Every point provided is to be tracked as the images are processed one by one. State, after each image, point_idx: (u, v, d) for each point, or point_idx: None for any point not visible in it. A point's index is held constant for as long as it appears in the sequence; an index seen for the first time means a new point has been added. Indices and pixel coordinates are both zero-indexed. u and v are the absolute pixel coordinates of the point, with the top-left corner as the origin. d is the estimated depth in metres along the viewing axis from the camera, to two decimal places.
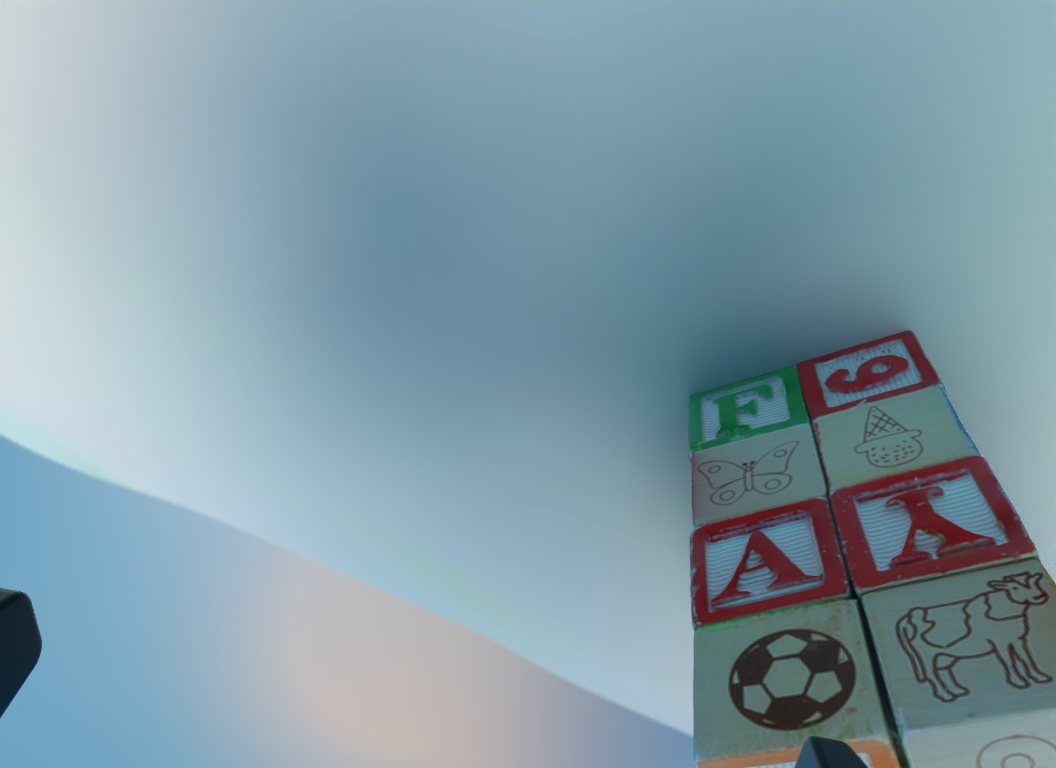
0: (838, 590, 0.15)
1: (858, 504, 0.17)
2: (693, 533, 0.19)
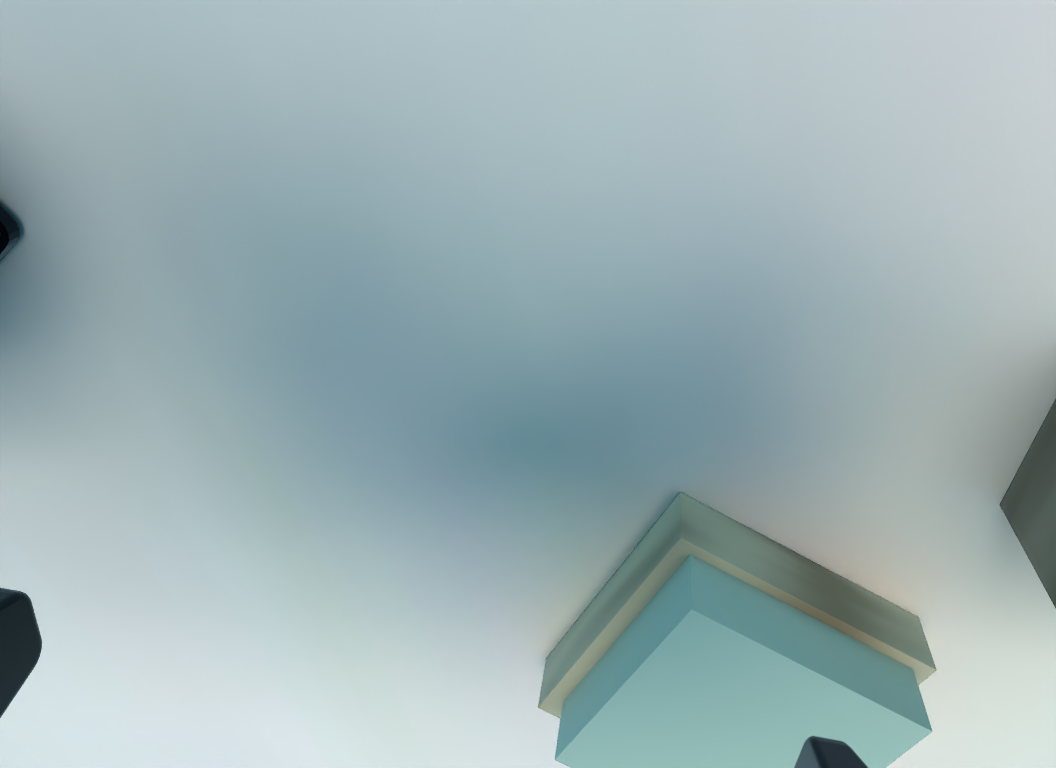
0: None
1: None
2: None
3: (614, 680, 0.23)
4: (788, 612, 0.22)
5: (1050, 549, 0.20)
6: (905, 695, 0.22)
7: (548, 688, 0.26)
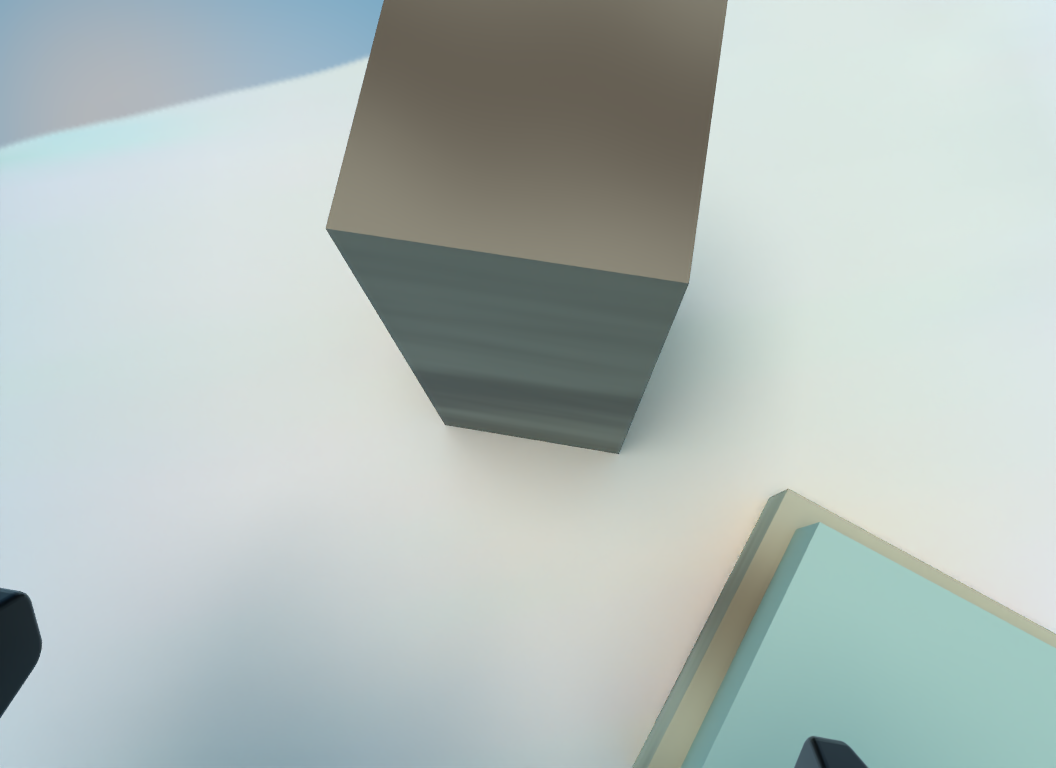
0: None
1: None
2: None
3: None
4: (727, 677, 0.20)
5: (596, 430, 0.21)
6: (799, 546, 0.20)
7: None
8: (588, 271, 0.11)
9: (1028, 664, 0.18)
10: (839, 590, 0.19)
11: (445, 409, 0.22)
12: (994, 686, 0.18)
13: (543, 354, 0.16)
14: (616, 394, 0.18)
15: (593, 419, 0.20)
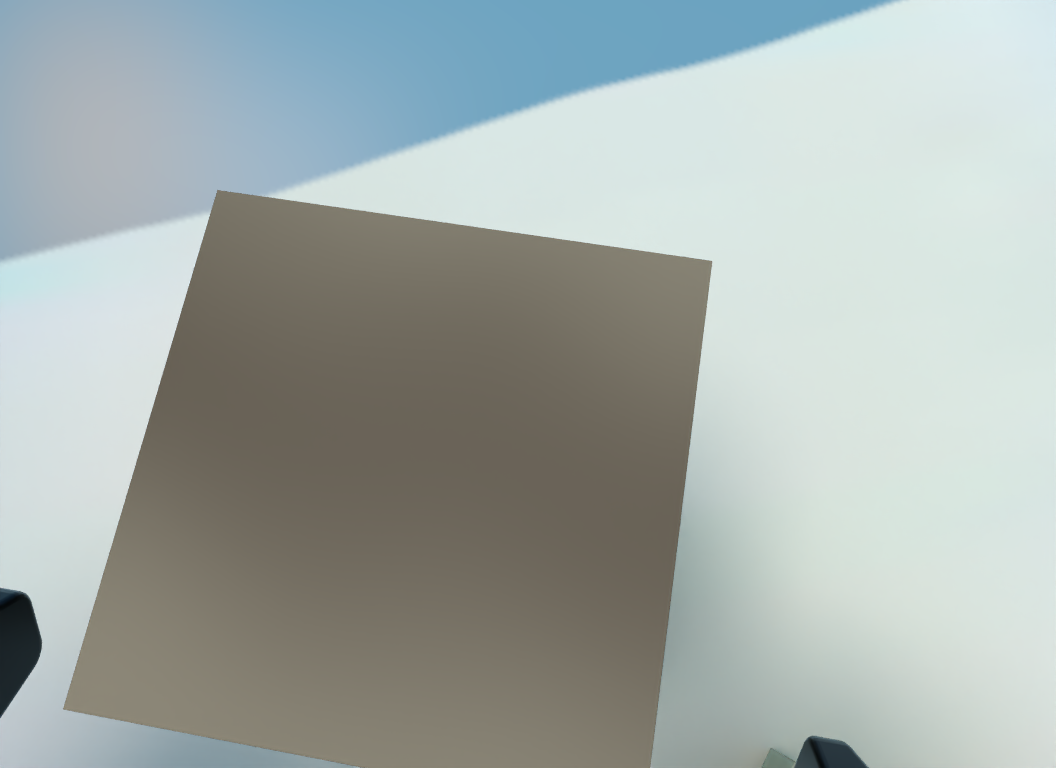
0: None
1: None
2: None
3: None
4: None
5: None
6: None
7: None
8: None
9: None
10: None
11: None
12: None
13: None
14: None
15: None
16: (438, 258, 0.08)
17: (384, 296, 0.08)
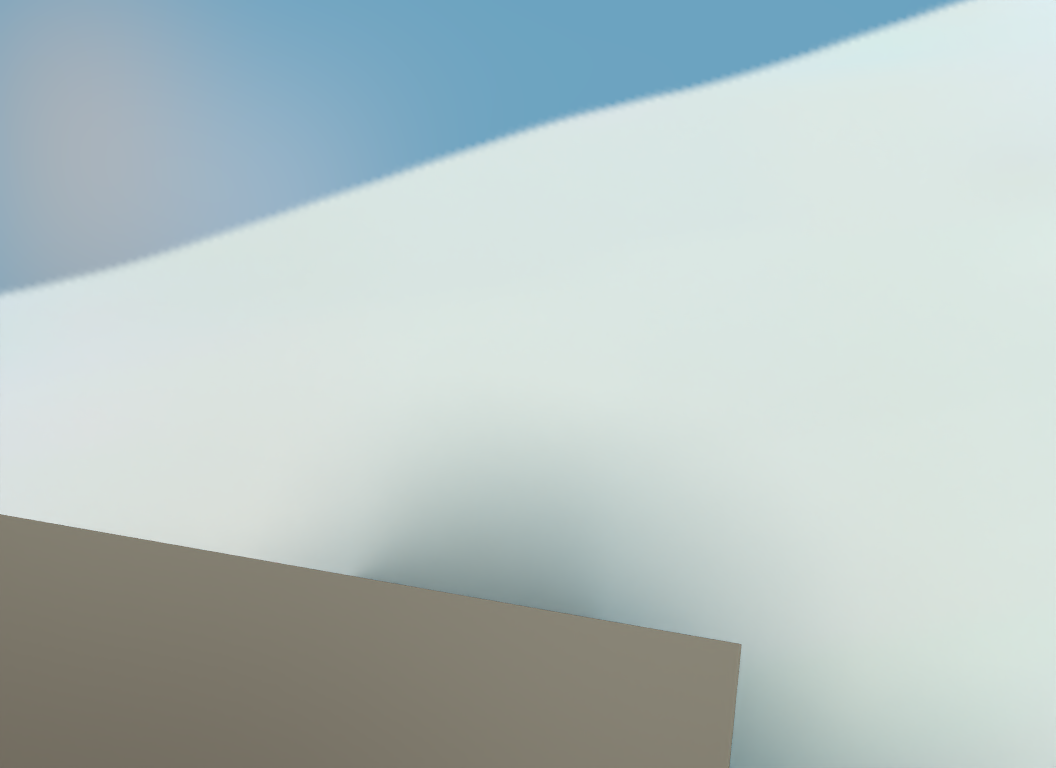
0: None
1: None
2: None
3: None
4: None
5: None
6: None
7: None
8: None
9: None
10: None
11: None
12: None
13: None
14: None
15: None
16: (122, 629, 0.04)
17: None
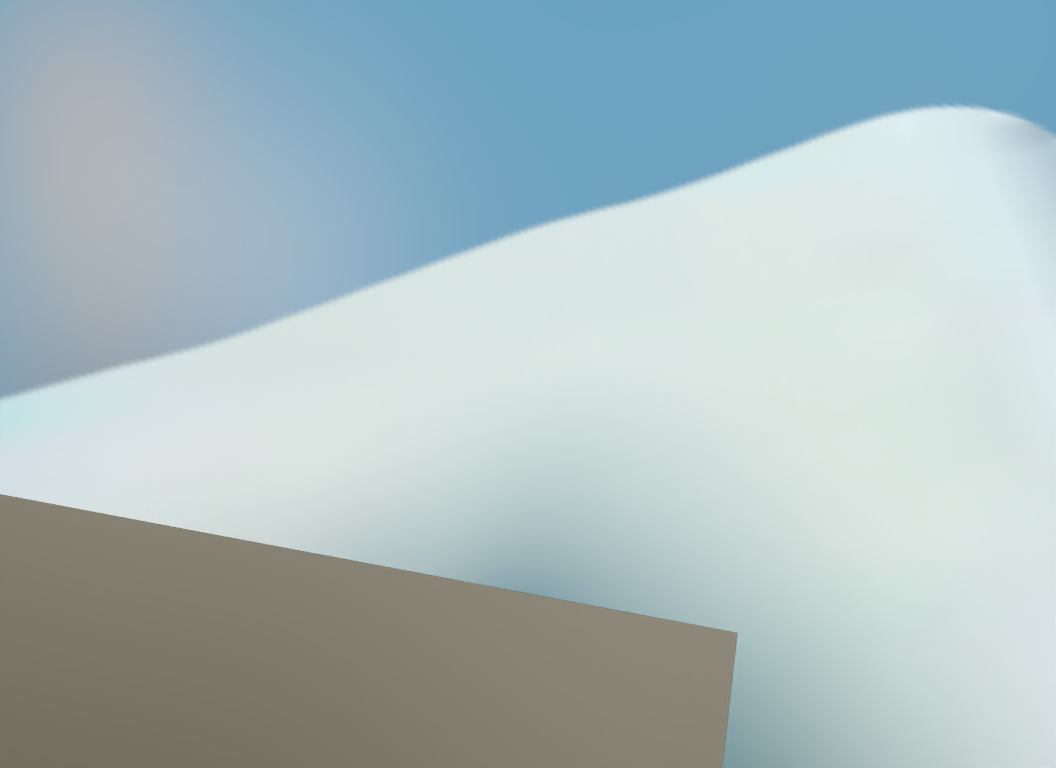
0: None
1: None
2: None
3: None
4: None
5: None
6: None
7: None
8: None
9: None
10: None
11: None
12: None
13: None
14: None
15: None
16: (135, 610, 0.04)
17: (11, 697, 0.04)
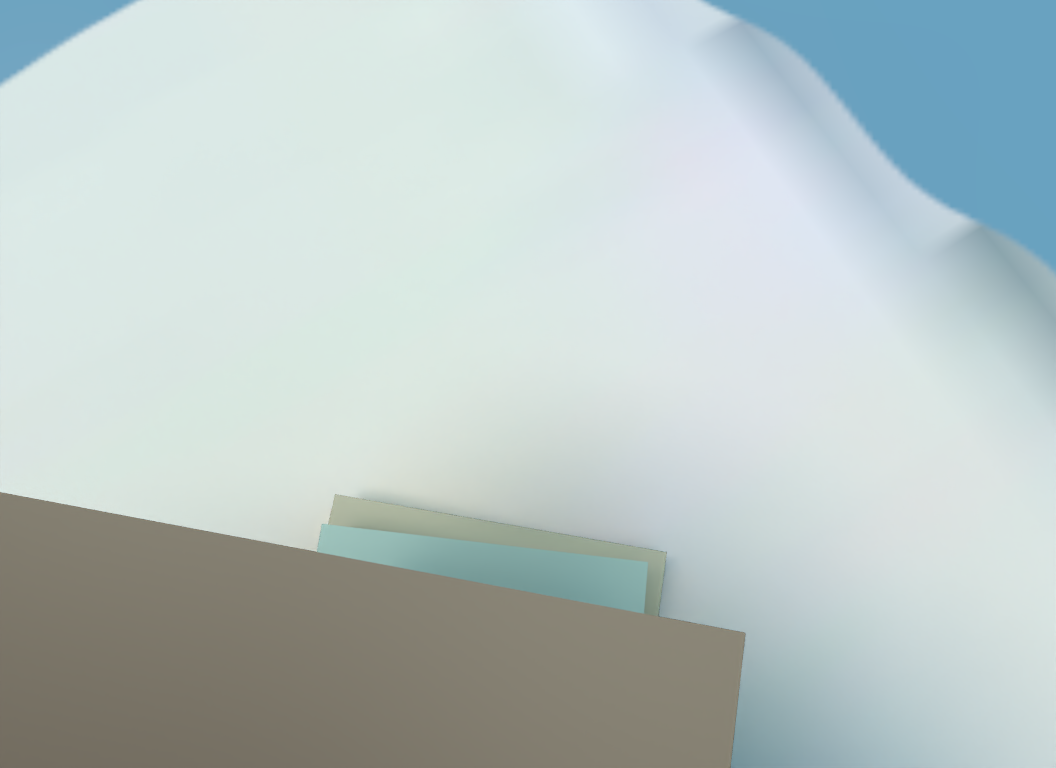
0: None
1: None
2: None
3: None
4: None
5: None
6: None
7: None
8: None
9: (559, 581, 0.18)
10: None
11: None
12: None
13: None
14: None
15: None
16: (140, 609, 0.04)
17: (15, 697, 0.04)
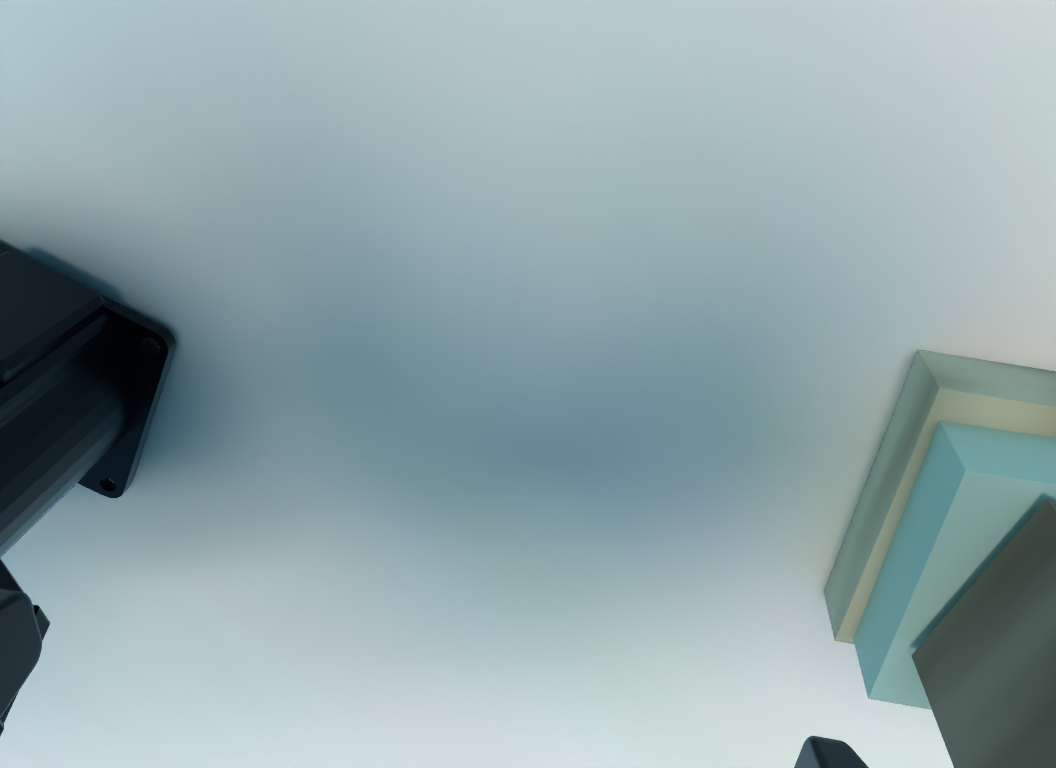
0: None
1: None
2: None
3: (904, 586, 0.20)
4: None
5: (969, 732, 0.17)
6: None
7: (839, 616, 0.23)
8: None
9: None
10: None
11: None
12: None
13: None
14: None
15: None
16: None
17: None
